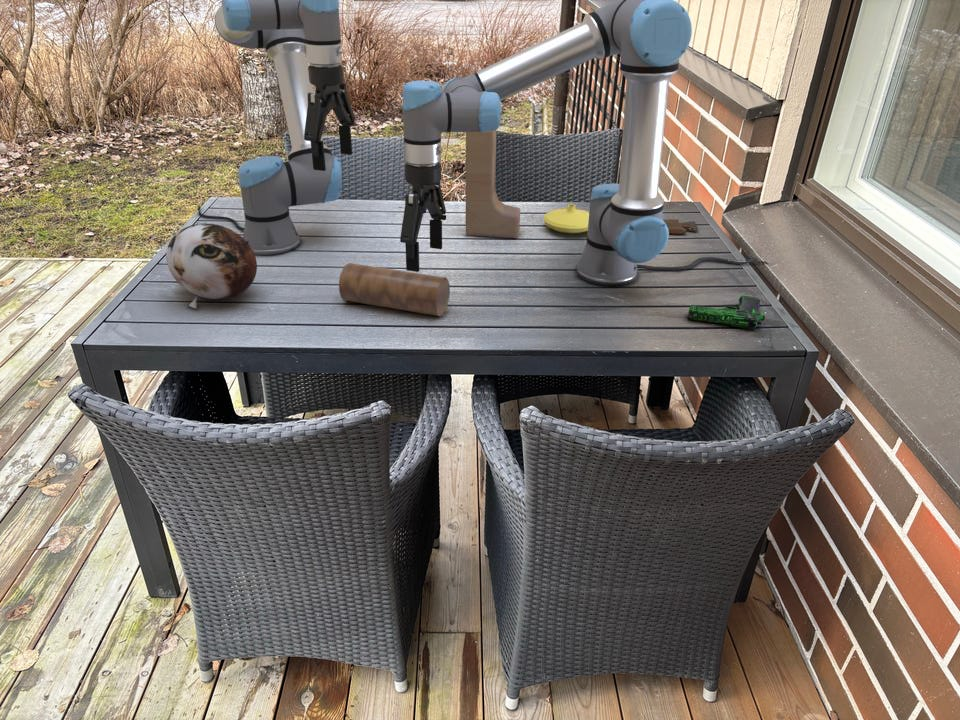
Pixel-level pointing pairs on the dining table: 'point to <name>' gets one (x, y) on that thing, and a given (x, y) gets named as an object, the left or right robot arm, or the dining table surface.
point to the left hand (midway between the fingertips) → (333, 161)
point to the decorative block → (486, 191)
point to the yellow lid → (567, 220)
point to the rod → (394, 289)
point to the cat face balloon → (211, 261)
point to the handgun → (731, 314)
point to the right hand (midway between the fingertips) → (424, 259)
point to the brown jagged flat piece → (679, 226)
